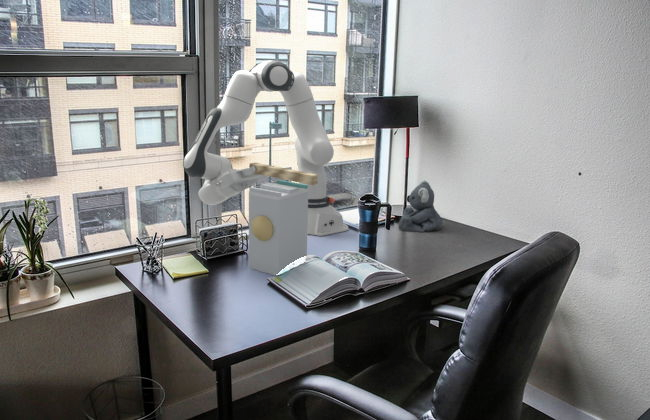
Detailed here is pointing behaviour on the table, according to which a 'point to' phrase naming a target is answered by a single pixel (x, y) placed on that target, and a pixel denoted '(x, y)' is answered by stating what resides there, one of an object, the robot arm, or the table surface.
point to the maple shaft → (285, 174)
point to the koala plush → (421, 211)
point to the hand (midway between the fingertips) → (259, 167)
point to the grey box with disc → (277, 225)
